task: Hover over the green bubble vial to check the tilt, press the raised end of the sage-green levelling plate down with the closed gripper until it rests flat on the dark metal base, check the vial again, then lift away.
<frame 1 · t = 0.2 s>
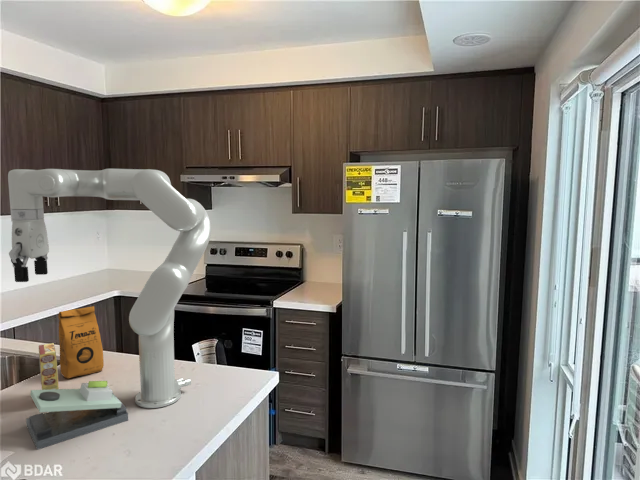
hand: (32, 277, 126), 37 cm above the counter, tool pointing down, fingers open, 9 cm apart
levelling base: (78, 423, 121), on the counter
candy box: (50, 399, 134), on the counter
levelling plate: (79, 391, 120), point 9 cm above the counter, hinge at 15.0°
coffee package: (82, 373, 152), on the counter
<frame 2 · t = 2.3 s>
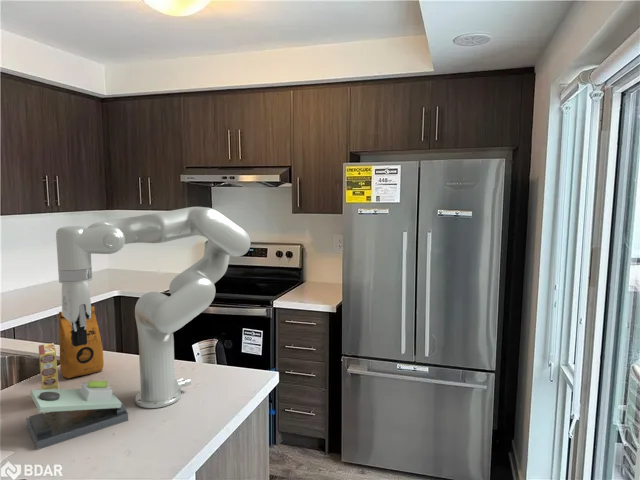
hand: (79, 344, 119), 21 cm above the counter, tool pointing down, fingers closed
nothing on the counter moved.
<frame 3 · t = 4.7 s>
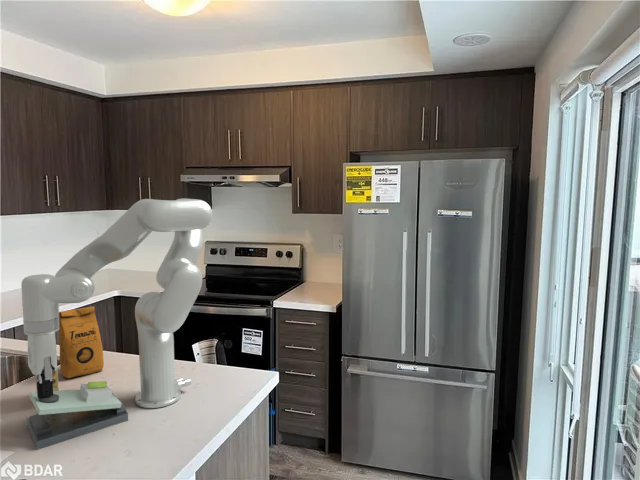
hand: (45, 396, 115), 10 cm above the counter, tool pointing down, fingers closed
levelling plate: (78, 392, 120), point 8 cm above the counter, hinge at 13.2°, touching gripper
everything else where it was.
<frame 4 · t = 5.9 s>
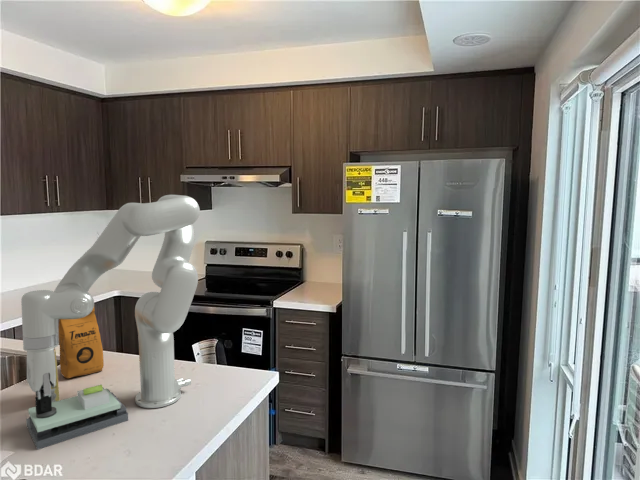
hand: (43, 411, 115), 6 cm above the counter, tool pointing down, fingers closed
levelling plate: (75, 400, 120), point 6 cm above the counter, hinge at 0.7°, touching gripper
everything else where it was.
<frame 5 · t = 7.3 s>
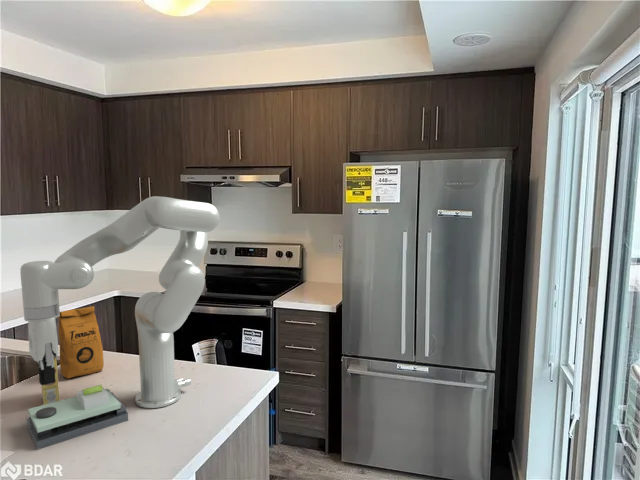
hand: (47, 382, 115), 13 cm above the counter, tool pointing down, fingers closed
levelling plate: (75, 401, 120), point 6 cm above the counter, hinge at 0.5°
everything else where it was.
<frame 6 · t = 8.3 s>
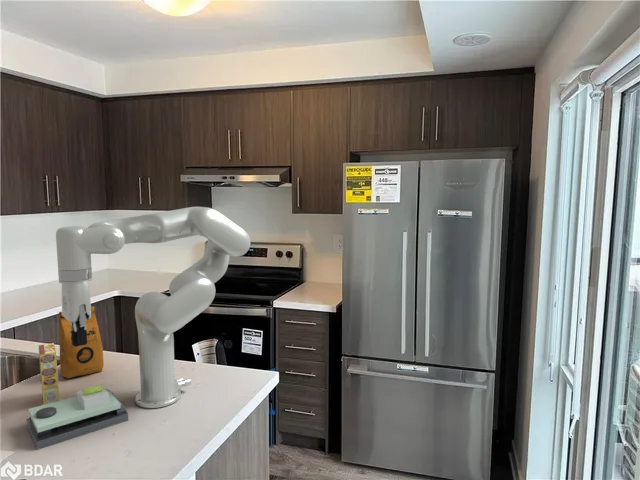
hand: (79, 344, 119), 21 cm above the counter, tool pointing down, fingers closed
nothing on the counter moved.
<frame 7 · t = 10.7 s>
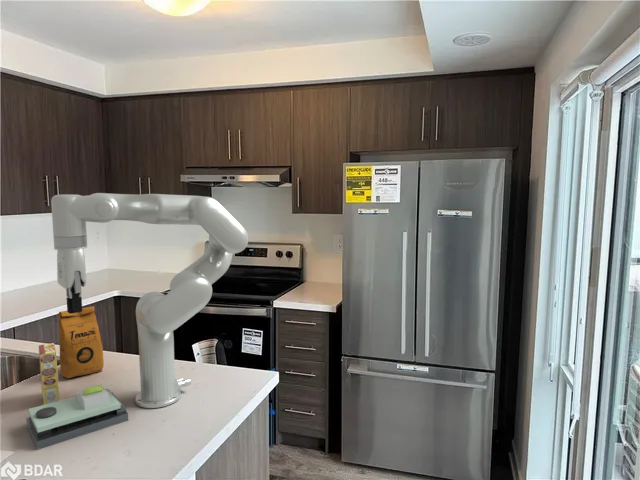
hand: (74, 311, 120), 29 cm above the counter, tool pointing down, fingers closed
nothing on the counter moved.
at the end: levelling plate at +0° (first picture: +15°); candy box moved 0.2 cm from its start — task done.
